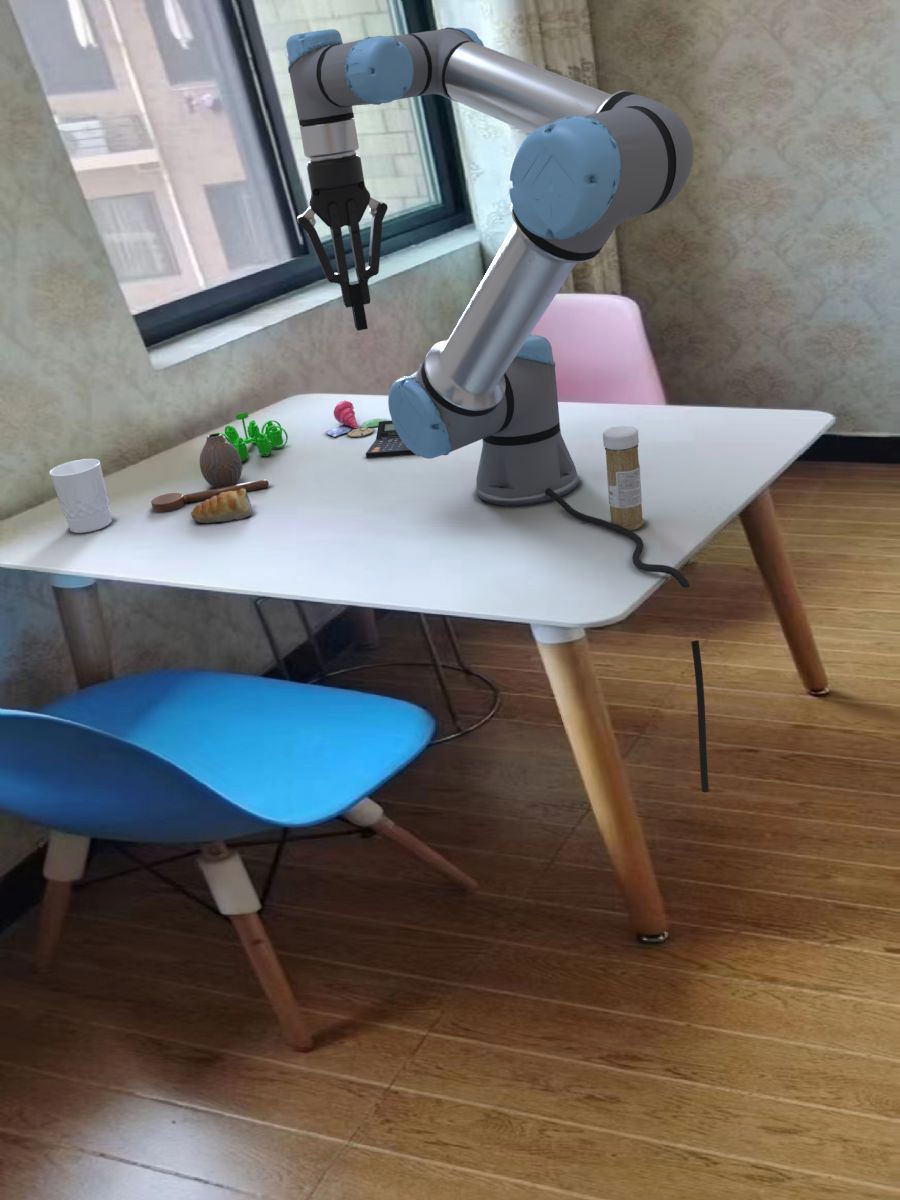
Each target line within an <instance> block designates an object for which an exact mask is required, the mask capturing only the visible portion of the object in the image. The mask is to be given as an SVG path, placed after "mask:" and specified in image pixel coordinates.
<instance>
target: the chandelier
mask: <svg viewBox="0 0 900 1200" xmlns="http://www.w3.org/2000/svg"><path fill="white" fill-rule="evenodd" d="M249 417H250V416H249V413H247V412H243V413H239V414H236V416H235V418H236V420H238V421H239V420H241V422H242V423H241V424H242V427H243V431H244V435H245V437H244V438H242V437H240V436H239V432H238V431H237V429H236V427H234V426H233V425H231V424H229V425H226V426H225V427H224V433H223V432H220V431H216V432H215V433H221V434H222V436H223V437H224V438H225V439H226V440H227V441H228V442H230V443H231V444H232V445H233V446H234V447H235V448H236V450H237V451H238V453H239V455H240V458H241V462H242V463H243V462H245V461H246V459H247V458H248V457H249V452H248V447H247V445H248V444H255V446H256V448H257V450H258V451H257V452H258V453H259V454H260V455H262V456H263V457H268V456H270V455H271V454H272V449H275V450H277V449H281V448H284V447H285V446H286V445H287V443H288V439H289V436H288V433H287V431H286V429H285V428H283V427H282V426H281V424H280V423H279V422H278V421H277V420H273V419H270V420H267V421H265V422H264V423H263V424H262V427H261V430H260V428H259V426H258V424H257V422H256V420H254V419H252V420H249V423H248V425H247V428H246V423H245V419H248V418H249ZM273 422H274V423H273ZM276 424H277V425H276ZM260 431H261V432H260ZM283 433H284V434H285V443H284V439H283V435H282V434H283Z"/></svg>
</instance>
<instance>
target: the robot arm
mask: <svg viewBox="0 0 900 1200" xmlns="http://www.w3.org/2000/svg"><path fill="white" fill-rule="evenodd" d="M285 48H286V54H287V55H286V56H287V62H288V63H287V64H288V66H287V73H288V74H289V78H290V83H291V88H292V89H291V90H292V93H293V98H294V99H293V100H294V104H295V110H296V114H297V115H296V116H297V119H298V123H299V130H300V137H301V142H302V148H303V154H304V157H306V158H307V159H309V161H308V162H307V163H306V164H305V166H306V171H307V177H308V182H309V183H308V184H309V188H310V198H309V204H308V205H309V207H308V208H307V209H306V210H305V211H304V212H303V213H302V214H299V215H297V217H296V222H297V223H298V224H299V225H300V226H301V227H302V228H303V230H304V231H305V232H306V234H307V236H308V239H309V241H310V243H311V246H312V248H313V251H314V252H315V255H316V257H317V260H318V262H319V264H320V266H321V269H322V271H323V273H324V276H325V278H326V280H327V281H328V282H329V283H331V284H332V283H334V284H337V285H339V286H340V291H341V298H342V303H343V305H344V306H345V308H351V310H352V316H353V322H354V328H355V329H356V330H357V331H363V330H368V329H369V328H368V323H367V322H368V321H367V316H366V310H365V305H369V304H371V294H370V289H369V280H370V279H371V278H372V277H374V276H377V275H379V272H380V259H381V246H382V245H381V244H382V231H383V221H384V218H385V216H386V213H387V211H388V205H387V203H386V202H383V201H379V200H377V199H375V198H372V197H371V193H370V191H369V190H368V189H367V186H366V183H365V178H364V177H365V176H364V170H363V164H362V157H361V156H360V155H359V154H357V152H356V151H358V150H359V149H360V146H359V145H360V144H359V139H358V133H357V128H356V122H355V113H354V110H353V107H355V106H356V107H357V106H369V105H375V106H377V105H378V106H379V105H382V104H388V103H392V102H393V101H394V102H395V101H397V100H405V99H410V98H415V97H422V96H428V95H439V96H442V97H444V98H447V99H449V100H450V101H454V102H456V103H459V104H460V105H464V106H466V107H468V108H470V109H473V110H476V111H478V112H480V113H482V114H484V115H487V116H489V117H491V118H494V119H496V120H498V121H501V122H503V123H505V124H507V125H509V126H512V127H514V128H517V129H518V130H521V131H523V132H525V133H528V135H527V137H525V139H524V140H523V141H522V142H521V144H520V145H519V146H518V149H517V150H516V152H515V155H514V157H513V159H512V162H511V166H510V170H509V176H508V179H509V181H510V182H512V187H511V188H509V189H508V193H509V199H510V204H511V205H510V213H511V217H512V220H513V222H514V223H513V224H512V226H511V228H510V231H508V233H507V235H506V237H505V239H504V241H503V242H502V245H501V246H500V248H499V249H498V251H497V253H496V255H495V257H494V259H493V260H492V262H491V264H490V266H489V267H488V269H487V271H486V273H485V274H484V276H483V278H482V279H481V281H480V283H479V285H478V287H477V288H476V290H475V292H474V294H473V296H472V298H470V301H469V303H468V304H467V306H466V308H465V310H464V312H463V313H462V315H461V317H460V318H459V320H458V322H457V323H456V326H455V328H454V329H453V331H452V332H451V334H450V335H449V338H448V339H444V340H442V341H438V342H436V343H435V344H434V345H433V346H432V347H431V348H430V349H429V350H428V352H427V353H426V355H425V357H424V358H423V360H422V362H421V364H420V366H419V368H418V369H417V370H416V371H415V372H413V374H411V375H404V376H402V377H400V378H399V379H397V380H396V381H394V382H393V383H392V385H391V387H390V389H389V392H388V397H387V398H388V399H387V400H388V401H387V403H388V404H387V405H388V412H389V415H390V419H391V421H392V423H393V425H394V427H395V430H396V432H397V434H398V435H399V437H400V439H401V440H402V441H403V443H404V444H405V445H406V446H407V448H408V449H409V450H411V451H412V452H413V453H414V455H416V456H418V457H419V458H420V457H421V458H424V459H429V460H430V459H435V458H438V457H441V456H448V455H450V453H452V452H454V451H456V450H459V449H462V448H464V447H467V446H469V445H471V444H474V443H476V442H479V441H481V440H482V447H481V451H480V458H479V463H478V468H477V473H476V479H475V481H476V482H475V487H476V493H477V496H478V497H479V499H480V500H482V501H484V502H486V503H489V504H493V505H498V506H527V505H528V506H529V505H535V504H540V503H546V502H550V501H553V500H554V502H556V503H557V504H558V505H559V506H560V507H561V508H563V510H564V511H565V512H566V513H568V514H569V515H570V516H572V517H574V518H576V519H578V520H580V521H582V522H585V523H588V524H592V525H595V526H598V527H602V528H605V529H607V530H610V531H612V532H614V533H617V534H621V535H623V536H624V537H627V538H628V539H631V540H632V541H634V543H635V549H634V551H633V554H632V559H631V560H632V563H633V565H634V566H635V568H637V569H638V570H640V571H642V572H646V573H647V572H648V573H662V574H667V575H670V576H672V577H673V578H674V579H676V580H677V581H678V583H679V584H680V586H681V587H682V588H685V589H686V588H690V587H691V585H690V583H689V581H688V579H687V578H686V577H685V575H684V574H683V573H682V572H681V571H680V570H678V569H676V568H675V567H673V566H670V565H666V564H653V563H652V564H651V563H645V562H643V561H642V560H641V554H642V552H643V550H644V540H643V539H642V538H641V536H639V535H638V534H637V533H636V532H634V531H633V530H628V529H626V528H623V527H621V526H618V525H615V524H613V523H610V522H611V521H608V520H605V519H602V518H598V517H594V516H591V515H588V514H585V513H582V512H580V511H578V510H577V509H575V508H573V507H572V506H571V505H570V504H569V503H568V502H567V501H566V500H565V499H563V496H566V495H567V494H569V493H570V492H572V491H573V490H574V489H576V487H577V486H578V483H579V481H578V472H577V468H576V465H575V463H574V460H573V458H572V456H571V454H570V451H569V449H568V446H567V445H566V443H565V440H564V438H563V436H562V431H561V423H560V410H559V409H560V408H559V399H558V398H559V397H558V388H557V376H556V362H555V361H554V354H553V347H552V344H551V342H550V341H549V340H548V339H547V338H546V337H544V336H542V335H538V334H532V333H533V331H534V329H535V328H536V326H537V325H538V323H539V322H540V320H541V318H542V317H543V316H544V314H545V312H546V311H547V309H548V308H549V306H550V305H551V303H552V301H553V300H554V298H555V297H556V295H557V294H558V293H559V291H560V290H561V288H562V287H563V285H564V283H565V282H566V281H567V279H568V277H569V276H570V274H571V273H572V271H573V269H575V267H576V265H577V264H582V263H587V262H589V261H592V260H593V259H595V258H596V257H597V256H598V255H599V254H600V252H601V251H602V249H603V248H604V246H605V245H606V244H607V242H608V241H609V239H610V237H611V236H612V234H613V233H614V232H615V230H616V228H617V227H618V226H619V225H620V224H621V223H622V222H624V221H626V220H629V219H633V218H635V217H640V216H643V215H647V214H649V213H652V212H655V211H658V210H659V209H662V208H663V207H665V206H667V205H668V204H670V203H671V202H672V201H673V200H674V199H676V197H677V196H678V195H679V194H680V193H681V192H682V190H683V189H684V187H685V185H686V183H687V181H688V179H689V177H690V174H691V172H692V168H693V164H694V143H693V140H692V136H691V133H690V131H689V129H688V126H687V125H686V123H685V122H684V120H683V119H682V118H681V117H680V115H679V114H678V113H677V112H675V111H674V110H673V109H671V108H670V107H669V106H668V105H666V104H663V103H661V102H659V101H656V100H653V99H652V98H648V97H647V96H643V95H641V94H638V93H635V92H632V91H629V90H619V91H616V92H614V93H612V94H611V93H608V92H607V91H606V92H605V91H603V90H600V89H597V88H596V87H592V86H589V85H587V84H584V83H582V82H579V81H577V80H574V79H571V78H569V77H566V76H563V75H561V74H558V73H556V72H553V71H550V70H547V69H545V68H543V67H540V66H537V65H534V64H532V63H529V62H528V61H527V62H526V61H524V60H521V59H520V58H519V59H518V58H517V57H514V56H511V55H508V54H506V53H503V52H500V51H498V50H496V49H492V48H490V47H487V46H485V45H484V43H483V40H482V39H481V38H479V36H478V34H477V32H475V31H474V30H472V29H470V28H466V27H449V26H448V27H444V28H440V29H434V30H427V31H421V32H414V33H407V34H405V33H404V34H398V35H390V36H389V35H388V36H385V35H375V36H367V37H364V38H362V39H358V40H354V41H349V42H346V43H344V42H343V39H342V35H341V33H340V31H339V30H337V29H335V28H330V29H329V28H328V29H322V30H315V31H307V32H304V33H296V34H293V35H291V36H288V38H287V40H286V43H285ZM368 206H369V210H368V211H369V214H370V215H371V221H370V232H369V234H370V236H369V248H368V250H369V251H368V263H367V264H368V265H367V266H366V260H365V256H364V255H365V254H364V250H363V248H364V247H363V244H362V243H363V242H362V237H361V228H360V222H361V221H362V219H363V217H364V215H365V213H366V210H367V208H368ZM315 215H316V216H317V217H318V218H319V219H320V220H321V221H322V222H323V223H324V225H326V226H327V227H328V228H329V230H330V235H331V241H332V246H333V250H334V251H333V252H334V258H335V263H336V270H337V272H335V271H334V269H333V267H332V265H331V262H330V260H329V257H328V255H327V252H326V250H325V247H324V245H323V243H322V241H321V238H320V236H319V233H318V231H317V230H316V228H315V227H314V226H316V223H317V221H316V219H315ZM345 226H346V227H347V229H348V232H349V233H348V234H349V238H350V244H351V250H352V256H353V262H354V263H353V264H354V268H355V274H356V278H357V280H354V281H350V276H349V269H348V264H347V258H346V252H345V247H344V245H345V244H344V240H343V232H342V228H343V227H345ZM690 643H691V650H692V658H693V666H694V676H695V688H696V689H695V691H696V705H697V724H698V725H697V726H698V727H697V728H698V750H699V751H698V752H699V770H700V771H699V772H700V784H701V793H705V794H706V793H709V791H710V790H709V789H710V788H709V774H708V773H709V772H708V771H709V770H708V753H707V727H706V726H707V725H706V724H707V723H706V705H705V704H706V703H705V687H704V686H705V685H704V676H703V665H702V658H701V657H702V656H701V648H700V641H699V640H698V639H697V640H693V641H690Z"/></svg>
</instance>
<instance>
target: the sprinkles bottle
mask: <svg viewBox="0 0 900 1200" xmlns="http://www.w3.org/2000/svg"><path fill="white" fill-rule="evenodd" d="M602 441H603V442H602V443H603V447H604V450H605V459H606V477H607V478H606V480H607V492H608V504H609V512H610V521H609V522H610V523H613V524H615V525H618V526H621V527H623V528H626V529H628V530H630V531H634V530H638V529H639V528H641V527H642V526H643V525H644V523H645V522H644V521H645V520H644V518H643V509H642V508H643V507H642V502H643V498H642V483H641V482H642V481H641V465H640V461H639V443H640V438H639V430H638V429H637V428H636V427H634V426H631V425H617V426H612V427H610V428H607V429H606V430H604V431H603V433H602Z"/></svg>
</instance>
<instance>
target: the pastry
mask: <svg viewBox="0 0 900 1200" xmlns="http://www.w3.org/2000/svg"><path fill="white" fill-rule="evenodd" d="M251 507H252V502H251V499H250V498H249V495H248V493H247V492H246V490H245V489H243V488H241V489H240V490H239V491H228V492H222V493H220V494H219V495H218V496H213V497H212V498H210V499H206V500H203V502H200V503H198V504H196V505H195V506H194V507H193V509H192V510H191V512H190V515H191V518H192V519H193V520H194V521H196V522H198V523H202V524H204V523H205V524H210V523H215V524H216V523H221V522H224V523H225V522H231V521H233V520H237V521H238V520H243V519H246V518H247V517H250V516H251V515H252V509H251Z"/></svg>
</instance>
